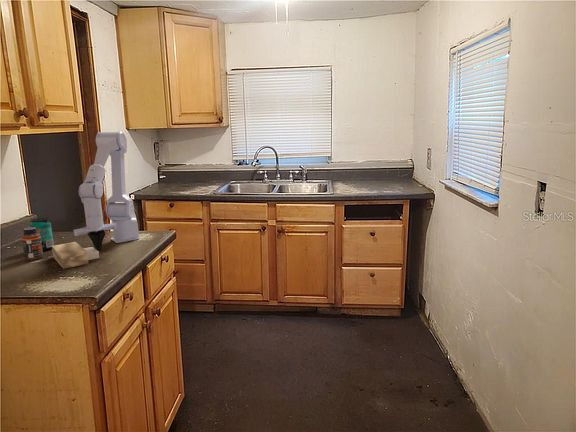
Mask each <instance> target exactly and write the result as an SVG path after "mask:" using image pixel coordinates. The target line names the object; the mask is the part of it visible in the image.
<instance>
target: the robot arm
mask: <svg viewBox="0 0 576 432" xmlns="http://www.w3.org/2000/svg"><path fill="white" fill-rule="evenodd" d="M127 142H128V141H127V136H126V134H125V133H124V132H123V131H98V132H97V133H96V135H95V144H96V147H97V150H96V154H95V158H94V162H93V164H91V165H90V166H89V168H88V171H87V173H86V176H85V180H84V182H83V183H81V184H80V185H79V186H78V193H77V194H78V196H79V197H80V200H81V203H82V204H83V208H84V217H85V224H86V226H85V227H81V228H77V229H73V236H75V237H78V236H82V235H87V236H88V238H89V239H90V241H91V243H92V244H93V248H95V249H96V250H97V251H99V252H102V245H103V242H104V238H105V236H106V231H110V230H112V234H113V237H111V238H110V240H111V241H113V242H115V243H116V244H119V243H125V242H129V241H135V240H140V239H141V238H140V233H139V225H138V220H137V218H136V217H134V216H135V206H134V201H133V199H132V198H131V197H129V196H128V195H127V194H126V169H125V167H126V166H125V165H126V164H125V162H126V161H125V154H126V153H127V151H128V145H127V144H128V143H127ZM109 157H110V165H111V169H110V171H111V193H112V194H111V196H110V197H109V198H108V199H107V200H106V206H105V214H106V216H107V217H108V219H109V220H110V221H111V223H105V224H104V216H103V209H102V208H103V207H102V201H101V200H102V199H101V198H102V196H103V194H104V184H103V182H104V179H105V176H106V173H107V170H106V168H105V166H106V163H107V161H108V158H109Z"/></svg>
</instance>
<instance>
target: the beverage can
mask: <svg viewBox="0 0 576 432" xmlns="http://www.w3.org/2000/svg"><path fill="white" fill-rule="evenodd" d="M29 227H36V230H37V232H38V233H39V234H40V237H41V244H42V250H43V252H46V251H51V250H52V246H54V245H55V243H54V237H53V230H52V229H53V228H52V223H51V221H49V218H48V217H39V218H34V219H31V220H30V224H29Z"/></svg>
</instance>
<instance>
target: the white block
mask: <svg viewBox="0 0 576 432" xmlns="http://www.w3.org/2000/svg"><path fill="white" fill-rule="evenodd" d="M82 248H83V249H85V250H86V251H87V256H88V261H92V260H97V259H100V251H97V250H96V249H95V247H94V246H88V247H82Z"/></svg>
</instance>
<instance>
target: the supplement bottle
mask: <svg viewBox="0 0 576 432" xmlns="http://www.w3.org/2000/svg"><path fill="white" fill-rule="evenodd" d="M21 244H22V249H23V257H24V260H26V261H35V260H40V259H41V258H43V257H44V251H43V250H42V244H41V237H40V234H39V233H38V232H37V230H36V227H30V226H29V227H25V228H23V234H22V235H21Z"/></svg>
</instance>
